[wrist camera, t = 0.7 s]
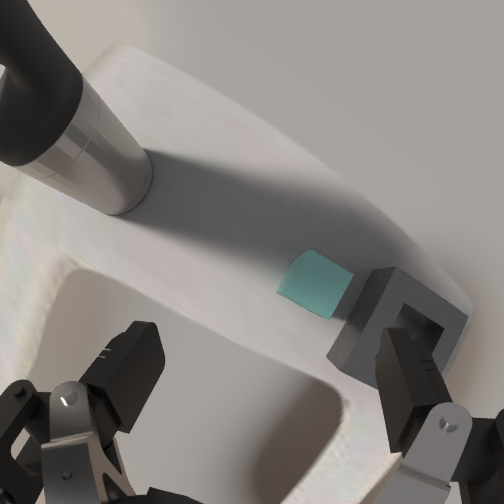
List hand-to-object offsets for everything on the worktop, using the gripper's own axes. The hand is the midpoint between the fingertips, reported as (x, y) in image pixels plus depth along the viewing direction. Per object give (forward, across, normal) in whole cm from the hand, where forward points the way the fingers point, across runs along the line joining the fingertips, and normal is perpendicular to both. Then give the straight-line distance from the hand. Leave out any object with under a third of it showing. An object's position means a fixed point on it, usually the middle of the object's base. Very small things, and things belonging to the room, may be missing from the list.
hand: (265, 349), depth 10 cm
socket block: (+20, -12, +14) cm, 27 cm away
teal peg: (+21, -1, +8) cm, 23 cm away
